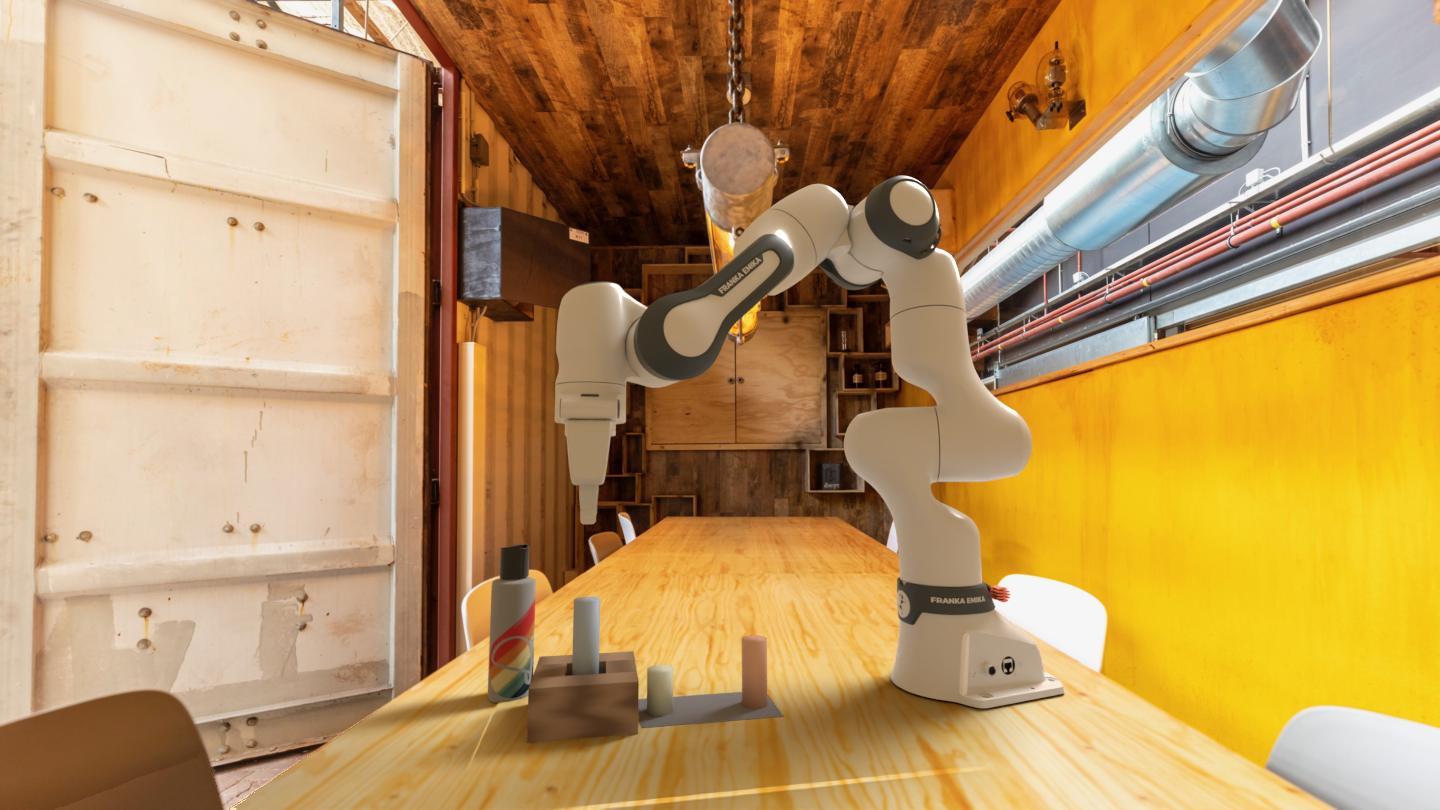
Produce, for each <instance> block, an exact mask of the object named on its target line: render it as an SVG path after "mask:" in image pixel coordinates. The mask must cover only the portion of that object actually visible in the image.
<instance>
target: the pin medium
mask: <svg viewBox="0 0 1440 810" xmlns="http://www.w3.org/2000/svg"><path fill="white" fill-rule="evenodd" d="M767 646H768V639H767V637H766V636H764V635H759V634H758V635H756V634H753V635H752V634H751V635H745V636H742V637H741V692H742V705H743V706H744V707H746V708H751V709H760V708H764V707H766V706H767V694H768V647H767Z"/></svg>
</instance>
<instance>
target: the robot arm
mask: <svg viewBox="0 0 1440 810" xmlns="http://www.w3.org/2000/svg"><path fill="white" fill-rule="evenodd" d="M942 231H943V230H942V227H941V225H940V214H939V210H938V206H937V202H936V200H935V199H934V196H933V194H932V192H931V191H930V190H929V188H928V187H927V186H926V185H925V184H923V183H922V182H921V181H919V180H918V179H916V178H914V177H912V176H908V175H897V176H896V175H895V176H893V177H891V178H888V179H886V180H884V181H883V182H881V183H879V184H878V185H876V186H875V187H873V189H871V191H870V192H869V193H868V194H867V196H866V197H864V198H863V199H862V200H861V201H860V202H858V204H856V205H855V206H854V205H850V204H848V203H847V202H846V200H845V199H844V197H843V195H842V194H841V193H840V192H838V190H836V189H835V188H834V187H831V186H829V185H827V184H823V183H815V184H814V183H813V184H810V185H806V186H805V187H803V188H800V189H799V190H796V191H795V192H792V193H790V194H788V195H787V196H785V197H784V198H782V199H781V200H779V201H777V202H776V203H775V204H773V205H771V206H770V207H769V208H768V209H767V210H765V211H764V212H763V213H761V214H760V215H759V216H758V217H757V218H755V219H754V220H753V221H752V222H751V223H750V224H749V225H748V226H747V227H746V228H745V230H744V231H743V232H742V233H741V235H740V236H739V237H738V239H736V241H735V242H734V244H733V248H732V249H733V251H732V254H733V258H732V259H731V260H730V261H729V262H727V263H726V264H725V265H724V266H723V267H721V268H720V269H719V270H718V271H717V272H715V273H714V274H713V275H712V276H711V277H709V278H708V279H706V280H705V281H704V282H703V283H702V284H700V285H699V286H697V287H695V288H692V289H688V290H683V291H679V292H674V293H670V294H667V295H664V296H661V297H659V298H658V299H656V300H655V301H653V302H652V303H651V304H650V305H649V306H646V305H644V304H643V303H641V302H640V301H638V300H637V299H635V298H633V296H631V295H630V294H629V293H627V292H626V291H625V290H624V289H623V287H621V286H620V284H618V283H616V282H611V281H602V280H601V281H591V282H585V283H582V284H579V285H578V284H577V285H576V286H574V287H572V288H570V289H569V290H568V291H567V292H566V293H565V294H564V296H563V297H562V298H561V301H560V305H559V308H558V315H557V316H558V317H557V324H556V339H555V340H556V341H555V353H556V356H557V360H558V373H557V376H556V379H555V384H554V386H555V387H554V388H555V390H554V393H555V394H554V422H555V424H562V425H564V436H565V437H566V445H567V447H566V449H567V457H568V469H569V474H570V476H569V477H570V480H571V483H572V485H574V486H578V499H579V509H580V511H579V521H580V524H582V525H594V524H595V523H596V522H597V514H598V499H599V489H600V488H599V486H601V485H603V484H605V480H606V473H607V468H608V461H609V452H610V445H611V438H612V437H615V436H616V435H617V434H616V433H617V431H616V430H617V425H622V424H625V423H626V422H627V383H631V384H636V385H638V386H644V387H648V388H651V389H654V388H656V389H657V388H663V387H664V388H665V387H668V386H671V385H673V384H676V383H679V382H680V381H685V380H691V379H694V378H697V377H699V376H701V375H703V374H704V373H706V372H707V371H708V370H709V369H710V368H711V367H712V366H713V364H714V363H715V362H716V360H717V359H718V356H719V355H720V353H721V350H722V348H723V345H724V343H725V340H726V338H727V336H728V334H729V333H730V331H731V329H732V328H733V327H734V326H735V325H736V323H738V322H739V321H740V320H741V319H742V318H743V317H744V316H746V314H748V313H749V312H750V311H751V310H752V309H754V307H755V306H756V305H757V304H758V303H760V302H761V301H762V300H763V299H764V298H765V297H766V296H776V295H779V294H780V293H782V292H785V291H786V290H787V289H790V288H792V287H793V286H794V285H796V284H798V282H800V281H802V280H803V279H804V278H805V277H807V276H808V275H809V274H810V273H812V271H814V270H815V269H816V268H817V267H819V268H820V269H822V270H823V272H824V273H825V274H826V276H827V277H828V278H829V279H831V282H834V283H835V284H836V285H837V286H839V287H841V288H843V289H845V290H849V291H858V290H863V289H865V288H868V287H871V286H873V285H874V284H876V283H877V282H878V281H880V280H881V279H882V281H883V283H884V284H885V287H886V289H887V291H888V295H889V326H890V349H891V350H890V351H891V354H890V355H891V365H892V368H893V370H894V372H895V373H896V374H897V375H898V376H899V377H900V378H901V379H902V380H904V381H905V382H906V383H909V384H911V385H913V386H916V387H918V388H921V389H923V390H924V391H926V392H927V393H929V394H930V395H931V397H932V398H933V399H934V400H935V402H936V405H933V406H911V407H910V406H908V407H904V406H903V407H885V408H880V409H875V410H874V409H873V410H870V411H866V412H863V413H858V414H857V415H856V416H855V417H854V418H853V419H852V420H851V421H850V422H849V424H848V427H847V428H846V431H845V434H844V439H843V451H844V454H845V455H844V456H845V458H846V461H847V463H848V465H849V466H850V467H851V468H850V469H852V471H853V472H854V473H855V474H856V475H857V476H859V477H860V478H861V479H863V480H864V481H865V482H867V483H868V484H869V485H870V486H871V487H872V488H873V489H874V490H875V491H876V492H877V493H878V495H880V497H881V498H882V500H883V501H884V503H885V504H886V506H887V509H888V511H889V513H890V515H891V517H892V520H893V523H894V528H895V534H896V542H897V551H898V552H897V553H898V562H899V563H898V565H899V567H898V569H899V577H897V579H896V606H897V616H898V619H899V623H898V624H899V626H898V628H899V629H898V639H897V648H896V655H895V661H894V664H893V670H892V671H891V672H892V673H891V676H890V680H891V681H892V683H893V684H894V685H895V686H897V687H898V688H899V689H900V688H901V689H902V690H903V691H906V692H908V693H910V694H915V695H917V696H921V697H925V698H930V699H933V700H940V701H944V702H945V701H947V702H953V703H958V704H962V705H964V706H969V707H972V708H976V709H991V708H994V707H995V708H996V707H1000V706H1005V705H1011V704H1017V703H1021V702H1025V701H1026V702H1027V701H1031V700H1032V701H1033V700H1037V699H1041V698H1047V697H1053V696H1058V695H1062V694H1065V689H1064V684H1063V683H1062V681H1060V680H1059V678H1057V677H1055V676H1054V675H1052V674H1051V673H1049V672H1047V671H1046V670H1044V664H1043V660H1042V655H1041V652H1040V649H1039V646H1038V644H1037V643H1036V641H1035V640H1034V638H1032V637H1031V636H1030V635H1029V634H1027V633H1026V631H1024V630H1023V629H1021V628H1020V627H1019V626H1017V625H1016V624H1015V623H1013V622H1012V621H1011V620H1009V619H1008V618H1007V617H1006V616H1004V615H1003V614H1002V613H1001V612H1000V611H999V610H997V609H996V605H995V602H994V600H995V601H999V602H1001V603H1007V602H1008V601H1009V599H1010V598H1011V597H1010V596H1011V594H1010V593H1011V591H1010V590H1009V589H1008V588H1007V587H1005V586H1000V585H997V584H996V585H993V586H991V585H990V584H988V583H986V582H984V581H983V577H982V575H983V573H982V556H981V552H982V551H981V536H980V535H981V533H980V531H979V528H978V526H977V525H976V523H975V521H974V520H973V519H972V518H971V517H969V516H968V515H967V514H965V513H963V512H961V511H959V510H958V509H956V508H954V507H952V506H949V505H947V504H945V503H943V502H941V501H939V500H938V499H937V498H935V496H934V494H933V491H932V487H931V485H932V484H933V483H937V482H938V483H939V482H940V483H948V482H949V483H955V482H956V483H982V482H983V483H985V482H990V481H997V480H1003V479H1007V478H1012V477H1017V476H1018V475H1019V474H1021V473H1022V471H1023V470H1025V467H1027V465H1028V463H1029V461H1030V459H1031V457H1032V456H1031V455H1032V453H1033V452H1032V451H1033V438H1032V433H1031V430H1030V428H1029V426H1028V424H1027V422H1026V420H1025V419H1024V418H1023V417H1022V416H1021V415H1020V414H1019V413H1018V412H1017V411H1016V410H1014V409H1012V408H1011V407H1009V406H1008V405H1005V404H1004V403H1003V402H1001V401H1000V400H999V399H998V398H997V397H996V396H994V394H993V393H992V392H991V391H990V390H989V389H988V388H987V387H986V385H985V384H984V382H983V381H982V380H981V377H979V374H978V373H977V371H976V369H975V365H974V363H973V358H972V352H971V347H970V342H969V341H970V339H969V334H968V333H969V332H968V323H967V322H968V321H967V311H966V310H967V308H966V299H965V295H964V289H963V285H962V281H961V280H962V279H961V276H960V273H959V270H958V269H959V268H958V267H957V262H956V261H955V259H954V258H953V256H952V255H951V254H950V253H949V252H947V251H945V250H943V249H940V248H938V246H939V244H940V242H941V238H942ZM933 245H934V246H933Z"/></svg>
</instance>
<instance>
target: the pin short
mask: <svg viewBox="0 0 1440 810" xmlns="http://www.w3.org/2000/svg"><path fill="white" fill-rule="evenodd" d="M646 669H647V670H646V671H647V672H646V675H647V676H646V699H647V713H648V714H649V715H652V716H666V715H669V714H671V713H672V712H673V697H674V667H673V666H671V665H669V664H656V665H655V664H654V665H651V666H648V667H647V668H646Z"/></svg>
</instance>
